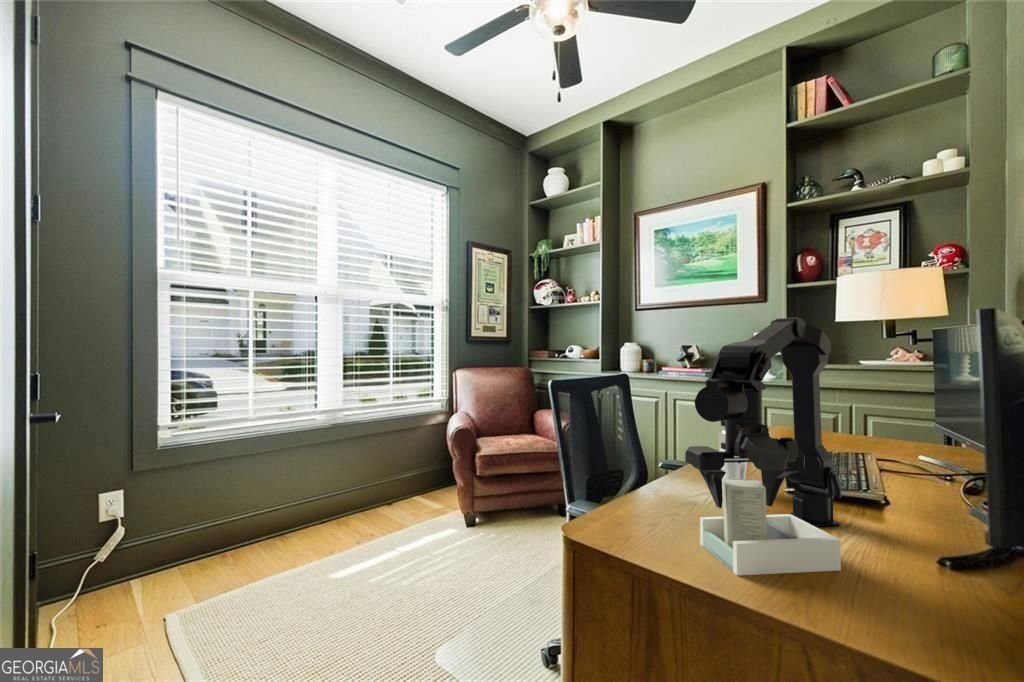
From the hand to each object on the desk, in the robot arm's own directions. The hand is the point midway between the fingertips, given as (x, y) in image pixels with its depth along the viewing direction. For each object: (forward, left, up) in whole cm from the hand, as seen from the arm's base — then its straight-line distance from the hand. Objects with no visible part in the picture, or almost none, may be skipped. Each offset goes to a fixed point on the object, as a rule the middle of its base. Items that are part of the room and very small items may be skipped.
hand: (744, 506), depth 74 cm
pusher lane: (-4, 0, -9) cm, 10 cm away
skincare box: (0, 0, -8) cm, 8 cm away
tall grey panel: (-6, 0, -8) cm, 10 cm away
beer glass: (-20, -34, -9) cm, 40 cm away
